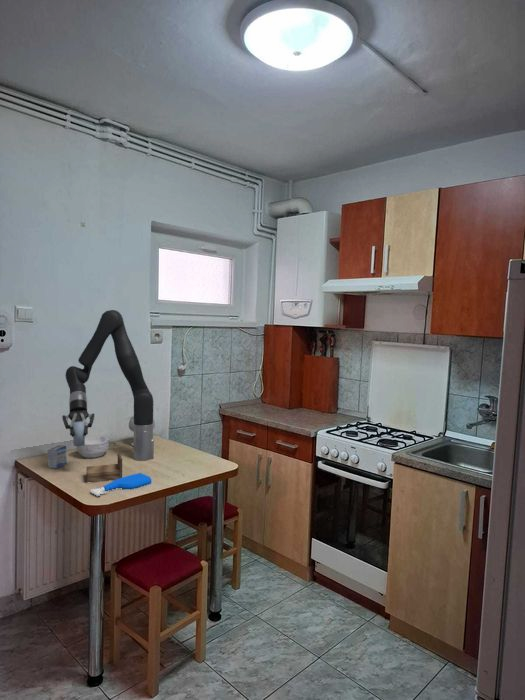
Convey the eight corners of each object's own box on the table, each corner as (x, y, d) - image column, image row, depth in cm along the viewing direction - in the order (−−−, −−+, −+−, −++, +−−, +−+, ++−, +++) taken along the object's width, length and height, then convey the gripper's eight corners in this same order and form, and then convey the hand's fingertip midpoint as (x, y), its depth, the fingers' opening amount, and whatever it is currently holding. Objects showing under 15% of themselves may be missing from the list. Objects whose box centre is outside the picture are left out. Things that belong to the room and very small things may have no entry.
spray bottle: (139, 471, 207) (85, 486, 189) (153, 477, 199) (99, 493, 181) (139, 478, 207) (85, 493, 189) (154, 484, 200) (99, 501, 182)
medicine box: (56, 468, 216) (56, 449, 215) (47, 467, 217) (47, 449, 216) (66, 463, 224) (66, 445, 223) (58, 462, 225) (58, 444, 224)
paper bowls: (71, 454, 238) (71, 438, 238) (101, 449, 248) (101, 434, 248) (83, 461, 227) (82, 445, 226) (113, 456, 237) (113, 440, 236)
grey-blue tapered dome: (84, 442, 213) (84, 420, 212) (84, 445, 209) (84, 422, 208) (73, 443, 211) (73, 421, 211) (73, 446, 207) (73, 423, 206)
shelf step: (119, 472, 213) (119, 452, 212) (122, 479, 203) (122, 459, 203) (86, 475, 207) (86, 455, 207) (87, 483, 198) (87, 462, 198)
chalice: (129, 448, 251) (129, 420, 250) (127, 441, 265) (127, 415, 264) (156, 446, 256) (156, 419, 255) (153, 440, 269) (153, 414, 268)
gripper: (61, 399, 213) (61, 432, 203) (94, 397, 218) (96, 429, 208) (61, 408, 218) (61, 441, 208) (94, 407, 224) (96, 438, 213)
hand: (79, 435), depth 208 cm, fingers closed on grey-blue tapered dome, 4 cm apart
